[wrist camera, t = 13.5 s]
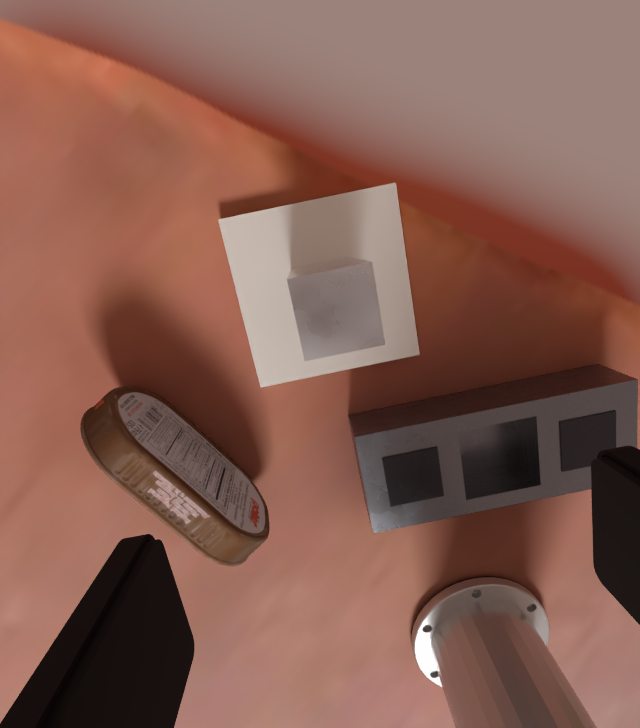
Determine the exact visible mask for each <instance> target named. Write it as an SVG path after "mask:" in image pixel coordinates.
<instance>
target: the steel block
mask: <svg viewBox="0 0 640 728" xmlns="http://www.w3.org/2000/svg"><path fill="white" fill-rule="evenodd" d="M287 282H288V287H289V292H290V296H291V301H292V305H293V310H294V315H295V319H296V324H297V328H298V333H299V338H300V342H301V347H302V351H303V356H304V361H309V360H314V359H319V358H324V357H329V356H333V355H338V354H343V353H348V352H353V351H358V350H363V349H368V348H372V347H377V346H382V345H385V339H384V332H383V326H382V320H381V314H380V307H379V301H378V295H377V289H376V282H375V276H374V270H373V264H372V261H367V260H362V259H357V258H352V257H344V258H339V259H334V260H330V261H325V262H320V263H315V264H310V265H305V266H301V267H296V268H291V269H290V272H289V275H288V277H287Z"/></svg>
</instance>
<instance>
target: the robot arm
mask: <svg viewBox="0 0 640 728" xmlns="http://www.w3.org/2000/svg"><path fill="white" fill-rule="evenodd" d="M591 487H592V524H593V561H594V569H595V572H596V574H597V576H598V578H599V580H600V581H601V583H602V584H603V585H604V586H605V587H606V589H607V590H608V591H609V592H610V593H611V594H612V595H613V596H614V597H615V598H616V599H617V601H618V602H619V603H620V604H621V605H622V606H623V607H624V608H625V609H626V610H627V611H628V613H629V614H630V615H631V616H632V617H633V618H634V619H635V620H636V621H637V622H638V624H639V625H640V450H639V449H637V448H635V447H633V446H623V447H617V448H612V449H606V450H602V451H600V452H599V453H598V455H597V459H594V460H593V461H592V463H591ZM549 628H550V627H549V622H548V617H547V615H546V613H545V611H544V608H543V607H542V605H541V604H540V603H539V601H538V600H537V598H536V597H535V596H534V595H533V594H532V593H531V592H530V591H529V590H528V589H526V588H525V587H523V586H521V585H520V584H518V583H515V582H513V581H510V580H507V579H501V578H495V577H481V578H475V579H469V580H465V581H462V582H459V583H456V584H454V585H452V586H450V587H448V588H446V589H444V590H442V591H441V592H440V593H438V594H437V595H436V596H434V597H433V598H432V599H431V600H430V601H429V602H428V603H427V604H426V605H425V606H424V607H423V609H422V610H421V612H420V613H419V615H418V616H417V619H416V621H415V623H414V626H413V631H412V636H411V637H412V648H413V652H414V656H415V659H416V662H417V664H418V666H419V668H420V670H421V671H422V672H423V673H424V675H425V676H426V677H427V678H429V679H430V680H431V681H432V682H433V683H435V684H437V685H439V686H441V687H443V690H444V693H445V696H446V699H447V702H448V705H449V708H450V711H451V714H452V718H453V721H454V724H455V727H456V728H597V727H596V726H595V724H594V722H593V721H592V719H591V718H590V716H589V714H588V713H587V711H586V709H585V708H584V706H583V705H582V703H581V701H580V700H579V698H578V697H577V695H576V693H575V692H574V690H573V688H572V687H571V685H570V684H569V682H568V680H567V679H566V677H565V676H564V674H563V672H562V671H561V669H560V667H559V666H558V664H557V663H556V661H555V659H554V658H553V656H552V655H551V653H550V651H549V650H548V648H547V647H546V646H547V642H548V639H549ZM193 656H194V639H193V635H192V632H191V629H190V626H189V623H188V619H187V616H186V613H185V610H184V607H183V604H182V601H181V598H180V595H179V591H178V588H177V585H176V582H175V579H174V576H173V573H172V570H171V567H170V564H169V560H168V557H167V554H166V551H165V548H164V545H163V543H162V541H161V540H159V539H158V540H155V539H154V537H153V536H152V535H150V534H146V535H141V536H135V537H130V538H125V539H122V540H121V541H120V542H119V543H118V544H117V546H116V548H115V549H114V551H113V552H112V554H111V555H110V557H109V558H108V560H107V561H106V563H105V564H104V566H103V567H102V569H101V570H100V572H99V574H98V575H97V577H96V578H95V580H94V581H93V583H92V584H91V586H90V587H89V589H88V590H87V592H86V593H85V595H84V597H83V598H82V600H81V601H80V603H79V604H78V606H77V607H76V609H75V610H74V612H73V613H72V615H71V616H70V618H69V619H68V621H67V623H66V624H65V626H64V627H63V629H62V630H61V632H60V633H59V635H58V636H57V638H56V639H55V641H54V642H53V644H52V645H51V647H50V649H49V650H48V652H47V653H46V655H45V656H44V658H43V659H42V661H41V662H40V664H39V665H38V667H37V668H36V670H35V671H34V673H33V675H32V676H31V678H30V679H29V681H28V682H27V684H26V685H25V687H24V688H23V690H22V691H21V693H20V694H19V696H18V697H17V699H16V701H15V702H14V704H13V705H12V707H11V708H10V710H9V711H8V713H7V714H6V716H5V717H4V719H3V720H2V722H1V723H0V728H174V725H175V722H176V718H177V714H178V711H179V707H180V704H181V700H182V697H183V693H184V689H185V686H186V682H187V679H188V675H189V671H190V668H191V664H192V661H193Z"/></svg>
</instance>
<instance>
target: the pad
mask: <svg viewBox="0 0 640 728" xmlns="http://www.w3.org/2000/svg"><path fill="white" fill-rule="evenodd" d="M218 221H219V225H220V229H221V233H222V237H223V241H224V245H225V249H226V253H227V257H228V261H229V265H230V268H231V272H232V276H233V280H234V284H235V288H236V292H237V296H238V300H239V304H240V308H241V312H242V316H243V320H244V324H245V328H246V332H247V336H248V340H249V344H250V348H251V352H252V356H253V360H254V364H255V368H256V372H257V375H258V379H259V383H260V387H265V386H270V385H275V384H280V383H285V382H290V381H294V380H299V379H304V378H309V377H314V376H319V375H324V374H328V373H333V372H338V371H343V370H348V369H353V368H358V367H363V366H367V365H372V364H377V363H382V362H387V361H392V360H397V359H401V358H406V357H411V356H416V355H420V353H419V346H418V338H417V331H416V324H415V317H414V310H413V302H412V295H411V288H410V281H409V274H408V266H407V259H406V252H405V245H404V238H403V230H402V223H401V216H400V209H399V202H398V194H397V187H396V183H391V184H386V185H381V186H376V187H371V188H366V189H362V190H357V191H352V192H347V193H343V194H338V195H333V196H328V197H323V198H319V199H314V200H309V201H304V202H299V203H295V204H290V205H285V206H280V207H275V208H271V209H266V210H261V211H256V212H251V213H247V214H242V215H237V216H232V217H227V218H223V219H218ZM344 257H352V258H357V259H362V260H367V261H372V264H373V270H374V276H375V282H376V289H377V295H378V301H379V307H380V314H381V320H382V326H383V332H384V339H385V345H382V346H377V347H372V348H368V349H363V350H358V351H353V352H348V353H343V354H338V355H333V356H329V357H324V358H319V359H314V360H309V361H304V356H303V351H302V347H301V342H300V338H299V333H298V328H297V324H296V319H295V315H294V310H293V305H292V301H291V296H290V292H289V287H288V282H287V277H288V275H289V272H290V269H291V268H296V267H301V266H305V265H310V264H315V263H320V262H325V261H330V260H334V259H339V258H344Z"/></svg>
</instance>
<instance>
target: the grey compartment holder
mask: <svg viewBox="0 0 640 728" xmlns="http://www.w3.org/2000/svg"><path fill="white" fill-rule="evenodd" d="M637 400H638V379H635V378H633V377H630V376H628V375H625V374H623V373H620V372H617V371H615V370H612V369H610V368H607V367H605V366H602V365H600V364H596V365H591V366H586V367H581V368H576V369H571V370H566V371H561V372H557V373H552V374H547V375H542V376H537V377H532V378H527V379H522V380H518V381H513V382H508V383H503V384H498V385H493V386H488V387H483V388H478V389H474V390H469V391H464V392H459V393H454V394H449V395H444V396H439V397H435V398H430V399H425V400H420V401H415V402H410V403H405V404H400V405H395V406H391V407H386V408H381V409H376V410H371V411H366V412H361V413H356V414H352V415H348V417H349V422H350V427H351V432H352V437H353V443H354V448H355V453H356V458H357V463H358V468H359V473H360V478H361V484H362V489H363V494H364V499H365V504H366V507H367V511H368V515H369V519H370V523H371V527H372V530H373V533H376V532H381V531H386V530H391V529H396V528H401V527H406V526H411V525H416V524H421V523H426V522H431V521H435V520H440V519H445V518H450V517H455V516H460V515H465V514H470V513H475V512H480V511H485V510H490V509H495V508H500V507H505V506H509V505H514V504H519V503H524V502H529V501H534V500H539V499H544V498H549V497H554V496H559V495H564V494H569V493H574V492H579V491H583V490H588V489H592V487H591V463H592V461H593V460H594V459H597V455H598V453H599V452H600V451H602V450H606V449H612V448H617V447H623V446H633V447H635V448H637Z"/></svg>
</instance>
